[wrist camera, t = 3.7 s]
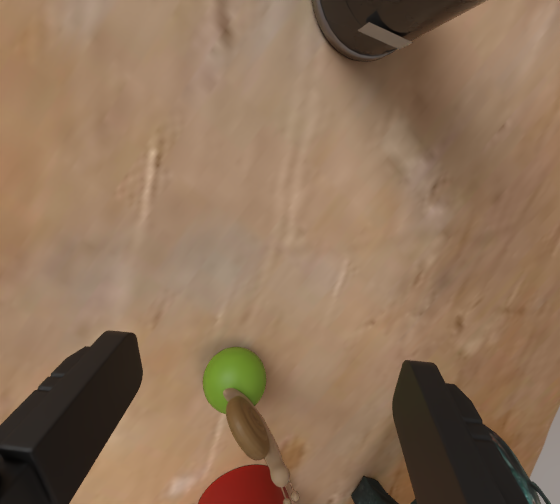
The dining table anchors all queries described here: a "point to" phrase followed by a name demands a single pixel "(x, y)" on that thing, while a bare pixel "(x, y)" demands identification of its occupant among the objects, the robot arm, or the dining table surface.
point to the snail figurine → (245, 408)
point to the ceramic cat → (375, 500)
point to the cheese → (244, 488)
